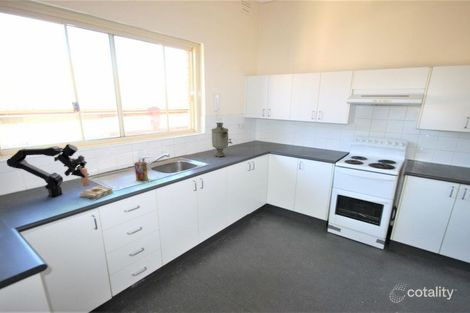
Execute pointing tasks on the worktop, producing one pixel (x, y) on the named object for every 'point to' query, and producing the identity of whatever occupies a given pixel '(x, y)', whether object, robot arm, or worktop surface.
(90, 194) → the pocket block
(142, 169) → the candy box
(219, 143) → the samovar
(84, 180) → the terracotta peg
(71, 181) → the worktop surface
